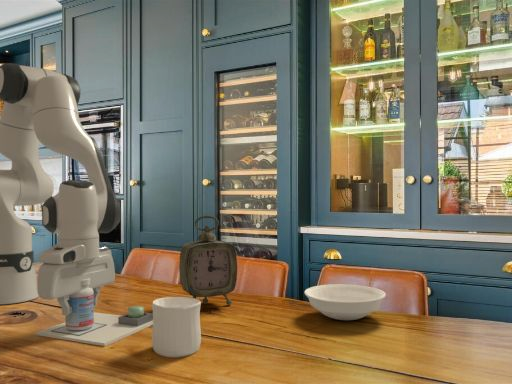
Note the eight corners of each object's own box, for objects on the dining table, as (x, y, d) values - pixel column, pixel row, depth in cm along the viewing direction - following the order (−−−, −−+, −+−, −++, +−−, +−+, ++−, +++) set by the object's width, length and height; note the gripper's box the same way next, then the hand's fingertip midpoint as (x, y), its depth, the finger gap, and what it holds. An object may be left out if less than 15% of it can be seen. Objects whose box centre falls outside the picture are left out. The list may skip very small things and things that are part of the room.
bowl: (391, 311, 118) (391, 287, 118) (378, 334, 100) (377, 305, 100) (318, 304, 127) (317, 281, 127) (293, 324, 109) (292, 297, 109)
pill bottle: (84, 332, 102) (83, 282, 102) (60, 330, 103) (59, 280, 103) (99, 324, 108) (98, 276, 108) (75, 322, 109) (75, 275, 109)
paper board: (35, 334, 103) (35, 331, 103) (94, 314, 119) (94, 311, 119) (104, 346, 95) (104, 342, 95) (157, 322, 111) (157, 319, 111)
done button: (125, 318, 109) (125, 308, 109) (134, 315, 112) (134, 305, 112) (137, 320, 108) (137, 310, 108) (146, 316, 111) (146, 306, 111)
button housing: (118, 323, 109) (118, 317, 109) (134, 317, 114) (134, 311, 114) (138, 326, 106) (138, 319, 106) (153, 319, 111) (153, 313, 111)
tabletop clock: (186, 312, 120) (185, 217, 120) (178, 304, 128) (176, 215, 128) (237, 306, 126) (236, 215, 126) (226, 299, 134) (225, 214, 134)
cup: (193, 359, 87) (192, 308, 87) (143, 357, 88) (142, 306, 88) (207, 343, 96) (206, 296, 96) (161, 340, 98) (161, 295, 98)
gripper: (101, 244, 116) (101, 299, 116) (31, 256, 97) (32, 320, 97) (120, 245, 113) (121, 301, 113) (53, 257, 95) (54, 323, 95)
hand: (80, 310), depth 105 cm, fingers closed on pill bottle, 6 cm apart
